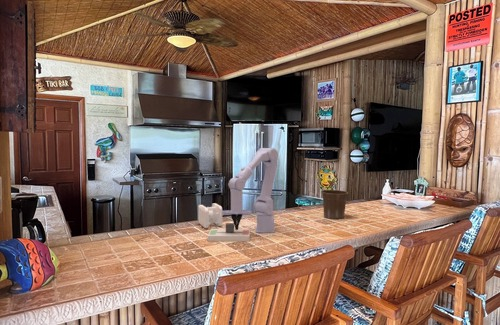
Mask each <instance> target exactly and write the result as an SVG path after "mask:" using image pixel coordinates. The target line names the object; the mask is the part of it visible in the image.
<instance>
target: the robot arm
mask: <svg viewBox="0 0 500 325" xmlns="http://www.w3.org/2000/svg"><path fill="white" fill-rule="evenodd" d="M278 158H279V152H278V150H277V149H276V148H275V147H269V148H267V147H260V148H258V150H257V151H256V152H255V155H254V157H253V158H252V160H251V161H250V162H249V164H248V165H246V166H243V167H241V168H240V170H239V172H238V173H237V174H235V176H234V177H232V178H230V180H229V181H228V183H227V186H228V188H229V189H230V209H229V210H228V209H227V210H226V209H225V210H222V216H230V217H231V220H232V223H234V229H235V230H238V229H239V226H240V222H241V219H242V218H243V216H252V211H255V215H256V227H255V233H275V228H276V227H275V215H274V214H272V213H273V211H274V200H273V198H272V197H271V196H272V193H273V192H272V191H273V187H274V182H275V177H276V172H277V167H278V160H279V159H278ZM261 163H263V164H264V165H265V167H266V168H265V171H264V177H263V181H262V186H261V191H260V195H258V196H257V197H256V199H255V202H254V203H253V210H247V209H246V210H245V209H244V210H243V206H244V205H243V202H244V201H243V189H245V187H246V183H247V182H248V180H249V179H250V178H251V176H252V175H253V171H254V170H255V169H256V168H257V167H258V166H259V165H260V164H261Z"/></svg>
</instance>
